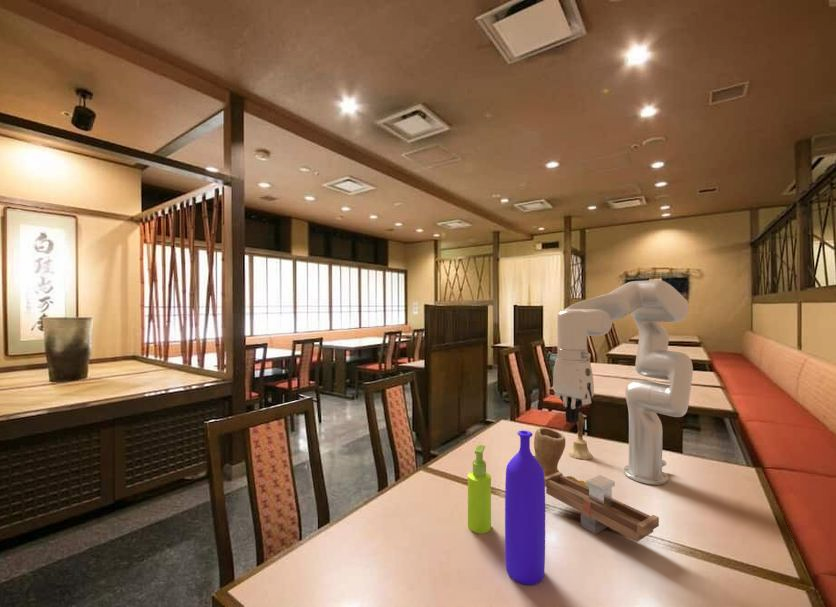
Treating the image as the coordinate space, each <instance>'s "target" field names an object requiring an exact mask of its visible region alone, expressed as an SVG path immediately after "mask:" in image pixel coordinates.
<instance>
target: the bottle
mask: <svg viewBox="0 0 836 607" xmlns="http://www.w3.org/2000/svg"><path fill="white" fill-rule="evenodd" d="M517 436H519V442H520V447H519V450H518V452H517V453H516V454H515V455H514V456H513V457H512V458H511V459H510V460H509V462H507V466H506V469H505V483H504V486H505V491H504V496H505V497H504V546H505V547H504V549H505V550H504V556H505V558H504V560H505V567H506V572H507V574H508V576H509V577H510V578H511V579H512V580H513V581H514V582H516V583H519V584H522V585H524V586H535V585H537V584H540V582H542V580H543V579H544V577H545V568H546V567H545V564H546V486H545V478H544V471H543V468H542V466H541V465H540V463H539V462H538V461H537V459H536V458H535V457H534V456H535V455H534V454H533V453H532V451H531V446H530V445H531V444H530V443H531V442H530V441H531V440H530V439H531V437H533V433H532V431H529V430H519V431H517Z"/></svg>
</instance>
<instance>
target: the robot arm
mask: <svg viewBox="0 0 836 607" xmlns="http://www.w3.org/2000/svg"><path fill="white" fill-rule="evenodd" d="M689 311H690V308H689V304H688V301H687V299H686V298H685V297H684V296H683V295H682V294H681V293H680V292H679V291H678V290H677V289H676V288H675V287H674V286H672V285H671V284H670V283H668V282H666V281H665V280H661V279H660V280H659V279H653V280H649V279H648V280H634V281H633V280H632V281H628V282H626V283H624V284H622V285H620V286H619V287H617V288H616V289H614V290H612V291H609V292H608V293H605V294H601V295H597V296H594V297H592V298H587V299H585V300H580V301H578V302H576V303H573V304H571V305H569V306H567V307H566V308H565V309H563V310H561V311H559V312H558V313H557V319H556V320H557V321H556V322H557V326H556V327H557V332H556V334H557V336H556V337H557V342H556V343H557V358H555V361H554V366H553V375H552V376H553V377H552V387H553V388H552V389H553V392H554V394H553V395H554V396H555V397H556V398H558V399H560V400H561V402H562V404H563V407H565V422H566V423H569V424H575V423H577V422H578V419H579V413H580V408H581V407H582V406H584V405H585V406H586V405H590V404H592V400H591V398H593V397H594V394H595V388H594V387H595V385H594V384H595V383H594V375H593V368H592V365H591V361H589V360H588V359H590V358H591V355H592V354H591V353H590V352H588V339H587V338H588V337H589V336H592V337H601V336H604V335H607V334H608V333H609V332H610V331H611V329H612V326H613V321H616V320H621V319H624V318H625V317H627V316H628V315H630V316H631V318H632V319H633V321H634V322H635V326H636V328H637V329H638V330H637V331H638V344H637V351H636V357H635V365H634V366H635V371H636V372H637V374H639V375H640V376H642V377H645V378H650V379H658V380H664V381H669V384H666V383H660V382H656V381H655V382H654V381H650V380H649V381H647V380H641V379H637V380H632V381H630V382H629V383H628V384H627V386H626V388H625V400H626V404H627V409H628V464H627V465H625V466H623V473H624V475H625V476H626V477H628V478H629V479H631V480H633V481H635V482H638V483H643V484H647V485H654V486H658V485H659V486H660V485H665V484H667V483H668V482H669V478H668V475H667V474H666V473H665V472H663V467H665V466H667V461H665V460H664V459H663V425H662V421H661V419H660V416H658V414H660V415H664V416H669V417H674V418H680V417H684V416H685V415H686V414H687V412H688V408H689V403H690V396H691V389H692V381H693V372H694V371H693V370H694V367H693V362H692V359H691V358H690V356H688V354H686V353H683V352H681V351H672V350H668V348H669V340H670V339H669V338H670V337H669V336H670V335H669V333H668V332H667V330H666V328H665V327H664V326H663V325H662V324H661V322H662V323H680V322H683V321H684V320H686V319H687V317H688V315H689Z"/></svg>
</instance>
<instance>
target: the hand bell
mask: <svg viewBox="0 0 836 607" xmlns="http://www.w3.org/2000/svg"><path fill="white" fill-rule="evenodd" d="M584 425H585V419H584V415H583V413H582V412H579V419H578V422H576V426H577V438H576V439H574V440H573V443H572V444H573V445H572V447H571V449H570V450H569V452H568V455H569V456H570V457H571V458H574V459H576V460H577V459H578V460H584V461H585V460H591V459H592V458H593V455H592V453H591V452H590V451H589V448H588V443H587V441H586V439H585V440H584V438H583V437H584V436H583V429H584V427H585V426H584Z"/></svg>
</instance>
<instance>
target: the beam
mask: <svg viewBox="0 0 836 607" xmlns="http://www.w3.org/2000/svg"><path fill="white" fill-rule="evenodd" d="M544 478H545V495H546V494H547V495H548V496H550V497H552V498H554V499H556V500H557V501H560V502H562V503H564V504H566V505H567V506H569V507H571V508H573V509H575V510H577V511H578V512H580V527H581V528H584V529H585V530H587V531H588V532H590V533H593V534H594V535H597V534H599V533H601V532H602V531H604V530H606V529H607V527H608V528H610V529H612V530H614V531H616V532H618V533H619V534H622V535H623V536H625V537H627V538H629V539H631V540H633V541H635V542H636V543H637V542H639V541H641V540H643V539H645V537H648V536H649V535H651V534H652V533H654V530H655V529H657V528H658V527H659V526H660V517H659V516H657V515H654V514H652V515H649V514H647V513H645V512H643V511H641V510H638V509H636V508H635V507H632V506H630V505H628V504H626V503H623V502H621V501H620V500H617V499H614V498H613V497H612V507H611V508H607V507H605V506H603V505H601V504H599V503H597V502H595V501H593V500H591V499H589V487H587V486H585V485H582V484H580V483H578V482H576V481H574V480H572V479H569V478H567V476H566V475H563V472H561V471H559V472H557V473H554V474H551V475H549V476H546V477H544Z"/></svg>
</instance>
